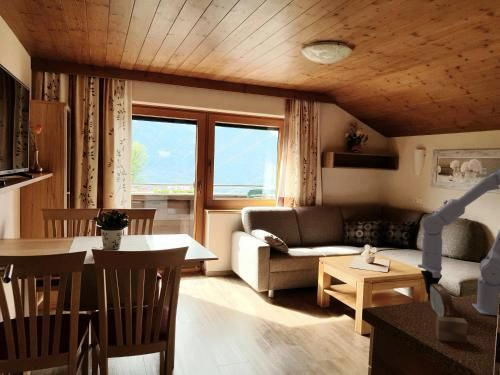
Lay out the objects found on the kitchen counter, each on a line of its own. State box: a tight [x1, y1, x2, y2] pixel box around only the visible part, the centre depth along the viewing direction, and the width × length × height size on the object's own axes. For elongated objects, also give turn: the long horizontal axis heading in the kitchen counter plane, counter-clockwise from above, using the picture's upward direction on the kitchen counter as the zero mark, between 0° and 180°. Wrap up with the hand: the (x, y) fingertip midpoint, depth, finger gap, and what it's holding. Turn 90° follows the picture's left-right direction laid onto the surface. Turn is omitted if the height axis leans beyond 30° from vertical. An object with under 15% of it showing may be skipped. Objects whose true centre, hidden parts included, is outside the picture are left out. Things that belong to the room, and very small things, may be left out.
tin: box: [429, 283, 455, 318], centre depth 110 cm, size 15×3×8 cm, turn 168°
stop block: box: [435, 315, 468, 344], centre depth 94 cm, size 6×3×5 cm, turn 77°
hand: (430, 293), depth 122 cm, fingers closed
